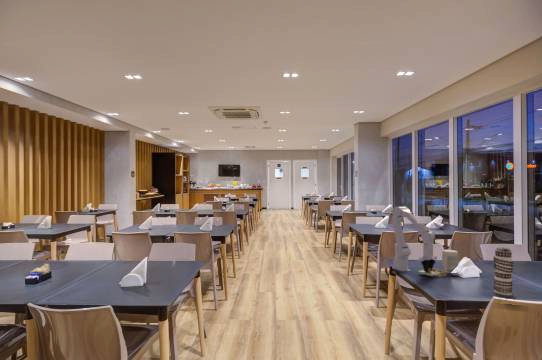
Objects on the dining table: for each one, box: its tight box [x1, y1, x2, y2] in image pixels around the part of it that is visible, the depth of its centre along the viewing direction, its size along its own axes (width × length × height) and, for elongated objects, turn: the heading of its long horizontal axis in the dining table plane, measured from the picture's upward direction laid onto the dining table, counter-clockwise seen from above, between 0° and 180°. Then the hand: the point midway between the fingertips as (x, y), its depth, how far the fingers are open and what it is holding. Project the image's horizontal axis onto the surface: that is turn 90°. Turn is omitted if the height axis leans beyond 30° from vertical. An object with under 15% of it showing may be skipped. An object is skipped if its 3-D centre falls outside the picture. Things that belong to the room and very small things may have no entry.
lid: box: [417, 268, 438, 277], centre depth 213 cm, size 9×7×4 cm
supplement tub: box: [441, 249, 459, 274], centre depth 224 cm, size 10×10×15 cm
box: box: [432, 268, 448, 278], centre depth 216 cm, size 9×7×3 cm
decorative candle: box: [493, 246, 514, 296], centre depth 183 cm, size 9×9×25 cm
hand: (427, 271), depth 213 cm, fingers closed on lid, 3 cm apart
